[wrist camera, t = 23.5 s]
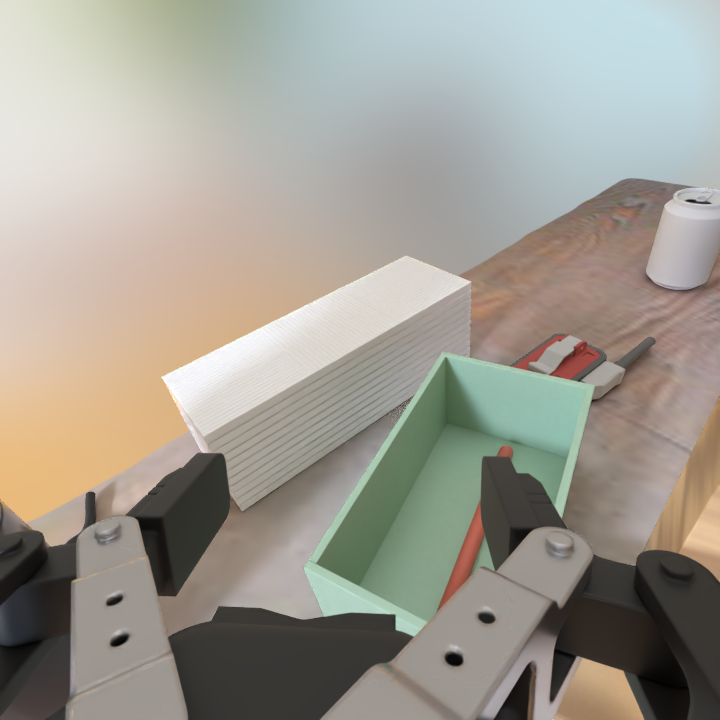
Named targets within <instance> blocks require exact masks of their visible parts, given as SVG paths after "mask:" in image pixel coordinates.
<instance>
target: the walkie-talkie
mask: <svg viewBox="0 0 720 720" xmlns="http://www.w3.org/2000/svg"><path fill="white" fill-rule="evenodd" d="M655 342H656V341H655V339H654V338H653V337H648V338H647V339H645V340H644V341H643V342H642V343H640V344H639V345H638V346H637V347H635V348H634V349H633V350H632V351H631V352H629V353H628V354H627V355H626V356H624V357H623V358H622V359H621V360H619V361H616V362H615V363H614V364H613V363H611V362H609V361H607V360H606V359H607V356H606V354H605V353H604V352H603V351H601V350H600V349H597V348H595V347H593V346H591V345H588V344H587V343H586V342H584V341H582V340H580V339H578V338H575V337H573V336H571V335H569V334H567V335H566V334H555V335H553V336H552V337H550V338H549V339H547V340H546V341H545V342H543V343H542V344H540V345H539V346H537V347H536V348H535V349H533V350H532V351H531V352H529V353H528V354H526V355H525V356H523V357H522V358H521V359H519V360H518V361H516V362H515V363H513V365H510V367H514V368H519V369H523V370H528V371H532V372H537V373H541V374H546V375H550V376H555V377H559V378H564V379H568V380H573V381H577V382H582V383H586V384H591V385H595V388H594V393H593V397H592V400H593V399H599V398H601V397H602V396H603V395H604V394H606V393H607V392H608V391H609V390H610V389H612V388H613V387H614V386H615V385H619V384H620V383H621V382H622V380H623V377H624V374H625V370H626V367H628V366H629V365H630V364H631V363H632V362H634V361H635V360H636V359H637V358H638V357H640V356H641V355H642V354H643V353H644V352H645V351H646V350H648V349H649V348H650V347H651V346H652V345H654V344H655Z"/></svg>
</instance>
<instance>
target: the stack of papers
mask: <svg viewBox="0 0 720 720" xmlns="http://www.w3.org/2000/svg"><path fill="white" fill-rule="evenodd" d="M470 289H472V282H471V281H468V280H466V279H463V278H461V277H458V276H456V275H453V274H451V273H448V272H446V271H443V270H441V269H438V268H436V267H434V266H431V265H428V264H426V263H423V262H421V261H419V260H416V259H414V258H411V257H409V256H404V257H402V258H400V259H398V260H396V261H394V262H392V263H390V264H388V265H386V266H384V267H382V268H380V269H378V270H376V271H374V272H372V273H370V274H368V275H366V276H364V277H362V278H360V279H358V280H356V281H354V282H352V283H350V284H348V285H346V286H344V287H342V288H340V289H338V290H336V291H334V292H332V293H330V294H328V295H326V296H324V297H322V298H320V299H318V300H316V301H314V302H312V303H310V304H308V305H305V306H303V307H301V308H299V309H297V310H296V311H294V312H291V313H290V314H287V315H286V316H283V317H281V318H279V319H277V320H275V321H273V322H271V323H269V324H267V325H266V326H263V327H261V328H259V329H257V330H255V331H253V332H251V333H249V334H247V335H245V336H243V337H241V338H239V339H237V340H235V341H233V342H231V343H229V344H227V345H225V346H223V347H221V348H219V349H217V350H215V351H213V352H211V353H209V354H207V355H205V356H203V357H201V358H199V359H197V360H195V361H193V362H191V363H189V364H187V365H185V366H183V367H181V368H179V369H177V370H175V371H172V372H170V373H168V374H166V375H165V376H162V379H163V381H164V383H165V384H166V386H167V388H168V390H169V392H170V394H171V396H172V398H173V399H174V401H175V403H176V405H177V407H178V409H179V411H180V413H181V415H182V417H183V418H184V420H185V422H186V424H187V426H188V428H189V430H190V432H191V434H192V436H193V437H194V439H195V441H196V443H197V445H198V447H199V449H200V450H201V452H202V453H222V454H223V455H224V457H225V460H226V468H227V476H228V484H229V492H230V495H231V497H232V498H233V500H234V501H235V503H236V504H237V506H238V507H239V509H240V510H241V512H242V511H244V510H245V509H247V508H248V507H250V506H251V505H253V504H254V503H256V502H257V501H259V500H260V499H262V498H263V497H265V496H266V495H268V494H269V493H270V492H272V491H273V490H275V489H276V488H278V487H279V486H281V485H282V484H284V483H285V482H287V481H288V480H290V479H291V478H293V477H294V476H296V475H297V474H298V473H300V472H301V471H303V470H304V469H306V468H307V467H309V466H310V465H312V464H313V463H315V462H316V461H318V460H319V459H321V458H322V457H324V456H325V455H327V454H328V453H329V452H331V451H332V450H334V449H335V448H337V447H338V446H340V445H341V444H343V443H344V442H346V441H347V440H349V439H350V438H352V437H353V436H355V435H356V434H358V433H359V432H360V431H362V430H363V429H365V428H366V427H368V426H369V425H371V424H372V423H374V422H375V421H377V420H378V419H380V418H381V417H383V416H384V415H386V414H387V413H388V412H390V411H391V410H393V409H394V408H396V407H397V406H399V405H400V404H402V403H403V402H405V401H406V400H408V399H409V398H411V397H412V396H414V395H415V393H416V392H417V390H418V389H419V387H420V386H421V384H422V383H423V381H424V379H425V378H426V376H427V375H428V373H429V372H430V370H431V369H432V367H433V366H434V364H435V362H436V361H437V359H438V358H439V356H440V355H441V353H442V352H447V353H451V354H456V355H460V356H465V357H469V358H470V352H469V351H470V339H469V338H470V331H471V326H469V325H471V319H469V318H471V312H470V311H471V305H470V304H471V298H470V297H471V295H472V291H471V290H470Z"/></svg>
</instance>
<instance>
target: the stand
mask: <svg viewBox="0 0 720 720" xmlns="http://www.w3.org/2000/svg"><path fill="white" fill-rule="evenodd" d="M648 550H665V551H671V552H675V553H678V554H681V555H684V556H687V557H689V558H691V559H693V560H695V561H697V562H698V563H700V564H702V565H703V566H704V567H706V568H707V569H708V570H709V571H710V572H711V573H712V574H713V575H714V576H715V577H716V578H717V580H718V581H719V582H720V396H719V398H718V400H717V402H716V404H715V406H714V408H713V410H712V412H711V414H710V417H709V419H708V421H707V423H706V425H705V427H704V429H703V431H702V433H701V435H700V437H699V439H698V441H697V443H696V445H695V447H694V449H693V451H692V453H691V455H690V457H689V459H688V461H687V463H686V465H685V467H684V469H683V471H682V473H681V475H680V477H679V479H678V481H677V483H676V485H675V487H674V489H673V491H672V493H671V495H670V497H669V499H668V501H667V503H666V505H665V508H664V510H663V512H662V514H661V516H660V518H659V520H658V522H657V524H656V526H655V528H654V530H653V532H652V534H651V536H650V538H649V540H648V542H647V544H646V546H645V548H644V550H643V552H645V551H648ZM643 552H642V553H643ZM553 719H554V720H644V717H643V715H642V713H641V710H640V708H639V706H638V704H637V701H636V699H635V697H634V694H633V692H632V690H631V688H630V685H629V683H628V681H627V679H626V676H625V674H624V671H622V670H619V669H616V668H613V667H610V666H607V665H603V664H600V663H597V662H594V661H591V660H588V659H585V658H582V661H581V663H580V665H579V667H578V669H577V671H576V673H575V675H574V677H573V679H572V681H571V683H570V685H569V687H568V689H567V691H566V693H565V695H564V697H563V699H562V702H561V704H560V706H559V708H558V710H557V712H556V714H555V716H554V718H553Z"/></svg>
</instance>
